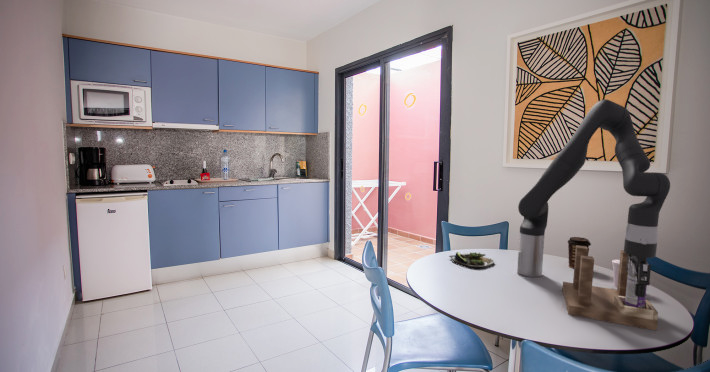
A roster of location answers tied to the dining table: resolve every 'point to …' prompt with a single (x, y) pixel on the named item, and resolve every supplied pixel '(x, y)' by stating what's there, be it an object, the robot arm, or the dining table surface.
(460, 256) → the salad plate
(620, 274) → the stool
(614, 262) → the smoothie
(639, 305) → the container
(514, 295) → the dining table surface
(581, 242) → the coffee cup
